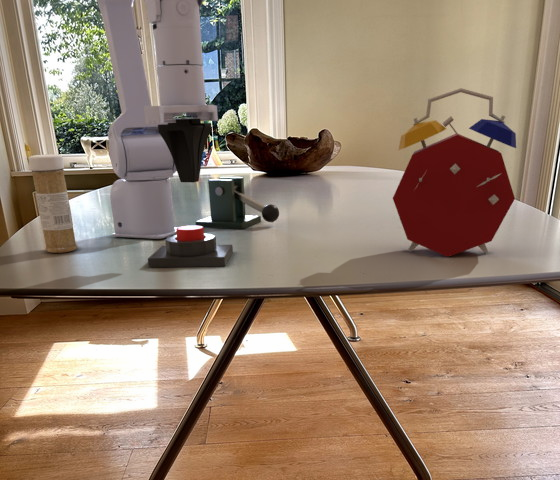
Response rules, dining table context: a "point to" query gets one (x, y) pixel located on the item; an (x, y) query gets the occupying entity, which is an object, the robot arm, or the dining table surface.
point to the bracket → (227, 205)
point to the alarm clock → (454, 184)
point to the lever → (258, 206)
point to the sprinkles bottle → (53, 202)
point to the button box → (191, 253)
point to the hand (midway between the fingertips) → (189, 181)
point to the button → (190, 233)
